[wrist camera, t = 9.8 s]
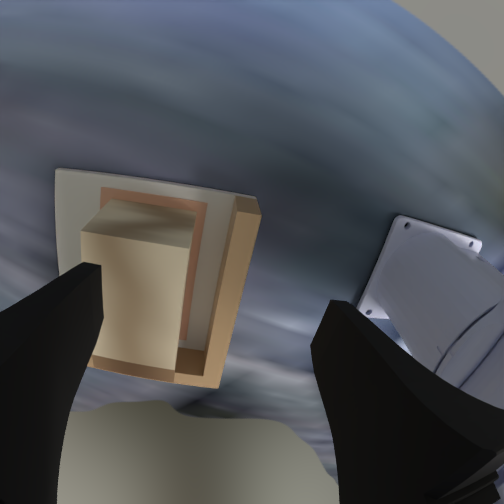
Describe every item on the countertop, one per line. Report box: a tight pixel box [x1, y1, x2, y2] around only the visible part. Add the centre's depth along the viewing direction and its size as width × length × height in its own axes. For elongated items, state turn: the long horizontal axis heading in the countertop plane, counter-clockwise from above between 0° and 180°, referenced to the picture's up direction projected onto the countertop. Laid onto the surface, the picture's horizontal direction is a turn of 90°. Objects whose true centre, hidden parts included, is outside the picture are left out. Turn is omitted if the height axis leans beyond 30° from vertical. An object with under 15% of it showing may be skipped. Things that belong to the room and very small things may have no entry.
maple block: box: [80, 199, 197, 383], centre depth 17 cm, size 5×9×4 cm, turn 167°
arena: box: [55, 168, 262, 388], centre depth 18 cm, size 12×13×3 cm
